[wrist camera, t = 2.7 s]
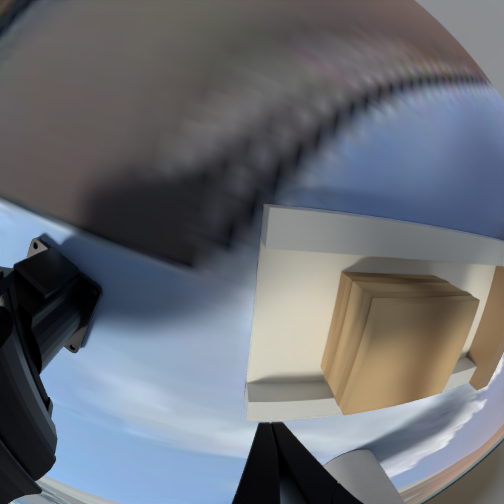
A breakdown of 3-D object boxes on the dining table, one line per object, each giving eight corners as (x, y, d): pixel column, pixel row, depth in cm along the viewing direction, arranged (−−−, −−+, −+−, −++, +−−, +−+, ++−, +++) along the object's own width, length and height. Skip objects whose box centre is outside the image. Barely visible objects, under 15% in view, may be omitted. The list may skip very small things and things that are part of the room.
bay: (244, 397, 19) (247, 437, 15) (263, 203, 15) (274, 210, 11) (466, 366, 21) (486, 385, 17) (506, 240, 18) (535, 250, 14)
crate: (319, 367, 18) (342, 415, 13) (340, 270, 16) (380, 303, 11) (409, 357, 18) (442, 393, 14) (435, 274, 17) (480, 299, 12)
